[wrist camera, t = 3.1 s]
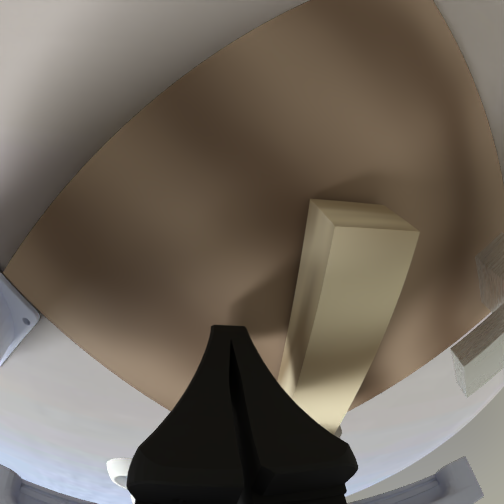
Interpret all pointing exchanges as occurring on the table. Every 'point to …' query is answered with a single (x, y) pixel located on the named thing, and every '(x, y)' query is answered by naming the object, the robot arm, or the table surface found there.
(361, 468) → the table surface
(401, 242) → the link
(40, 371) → the table surface
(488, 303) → the block
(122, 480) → the vr controller
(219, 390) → the robot arm
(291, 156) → the base board
